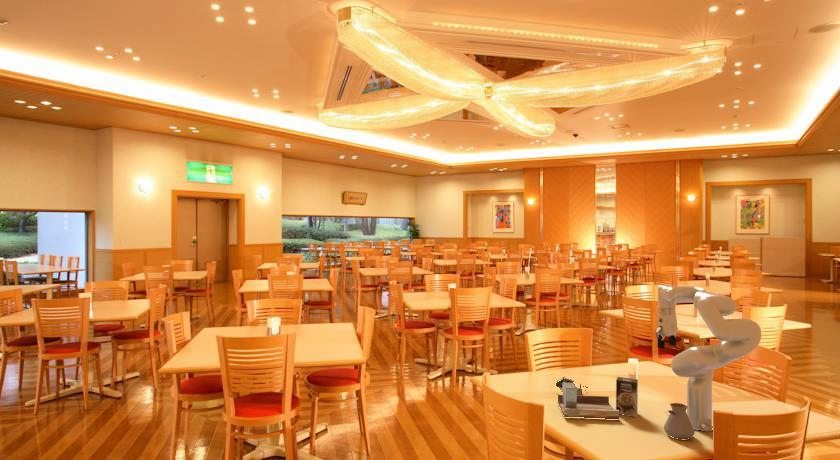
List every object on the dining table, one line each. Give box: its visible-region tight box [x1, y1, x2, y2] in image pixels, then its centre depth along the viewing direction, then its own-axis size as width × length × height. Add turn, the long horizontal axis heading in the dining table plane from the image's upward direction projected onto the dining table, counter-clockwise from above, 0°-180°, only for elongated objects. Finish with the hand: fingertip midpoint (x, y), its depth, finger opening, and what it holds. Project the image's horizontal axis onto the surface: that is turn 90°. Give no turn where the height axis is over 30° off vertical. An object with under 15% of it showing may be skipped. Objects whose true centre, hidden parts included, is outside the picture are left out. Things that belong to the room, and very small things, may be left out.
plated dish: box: [555, 376, 588, 395], centre depth 266 cm, size 35×28×7 cm
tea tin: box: [562, 383, 577, 409], centre depth 234 cm, size 8×5×10 cm, turn 174°
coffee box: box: [615, 376, 639, 418], centre depth 231 cm, size 9×6×16 cm
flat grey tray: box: [557, 394, 620, 420], centre depth 233 cm, size 18×24×5 cm
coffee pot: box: [663, 402, 696, 440], centre depth 202 cm, size 21×12×15 cm, turn 139°
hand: (666, 346), depth 236 cm, fingers open, 9 cm apart
